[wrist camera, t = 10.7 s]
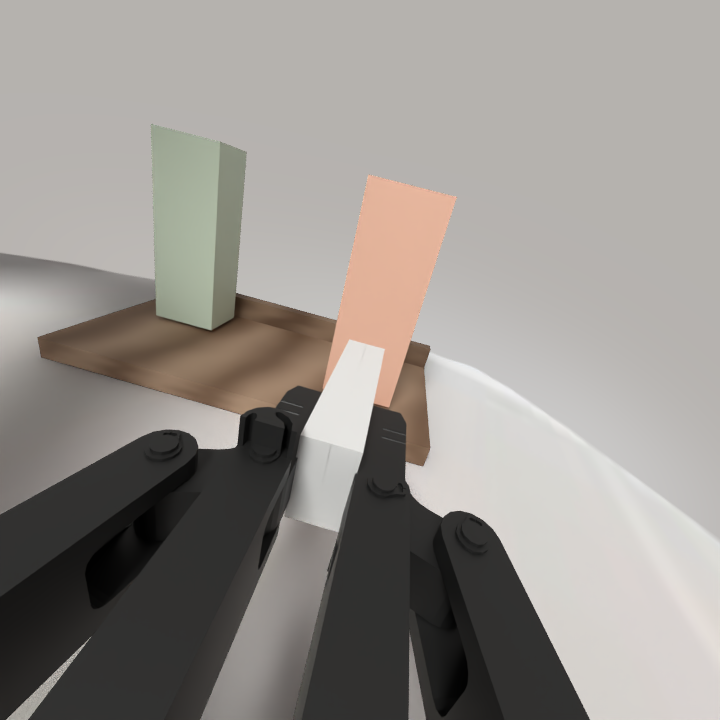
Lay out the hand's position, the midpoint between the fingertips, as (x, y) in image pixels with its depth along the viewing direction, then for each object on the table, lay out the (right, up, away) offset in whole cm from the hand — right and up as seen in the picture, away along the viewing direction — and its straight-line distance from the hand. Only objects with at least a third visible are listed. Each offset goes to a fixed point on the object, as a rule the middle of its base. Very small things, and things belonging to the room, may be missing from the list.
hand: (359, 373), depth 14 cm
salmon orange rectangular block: (0, -1, +12) cm, 12 cm away
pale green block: (-15, +5, +17) cm, 23 cm away
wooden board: (-8, 0, +15) cm, 17 cm away
